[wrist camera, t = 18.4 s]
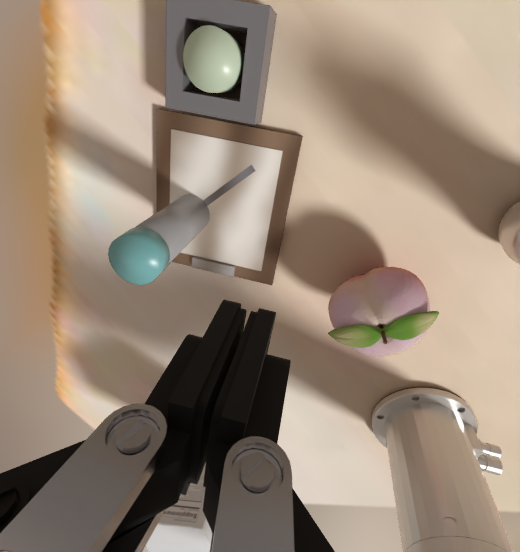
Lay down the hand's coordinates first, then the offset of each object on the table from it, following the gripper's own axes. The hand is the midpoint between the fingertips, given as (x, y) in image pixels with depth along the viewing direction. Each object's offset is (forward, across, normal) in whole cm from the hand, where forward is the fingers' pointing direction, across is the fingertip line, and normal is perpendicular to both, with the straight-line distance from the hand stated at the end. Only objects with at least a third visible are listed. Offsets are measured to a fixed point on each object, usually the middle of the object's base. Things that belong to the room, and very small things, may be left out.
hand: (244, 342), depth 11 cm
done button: (+24, +9, -8) cm, 27 cm away
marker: (+24, +11, +6) cm, 27 cm away
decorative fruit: (+25, -10, +10) cm, 29 cm away
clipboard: (+25, +8, +4) cm, 27 cm away
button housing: (+25, +9, -8) cm, 28 cm away
